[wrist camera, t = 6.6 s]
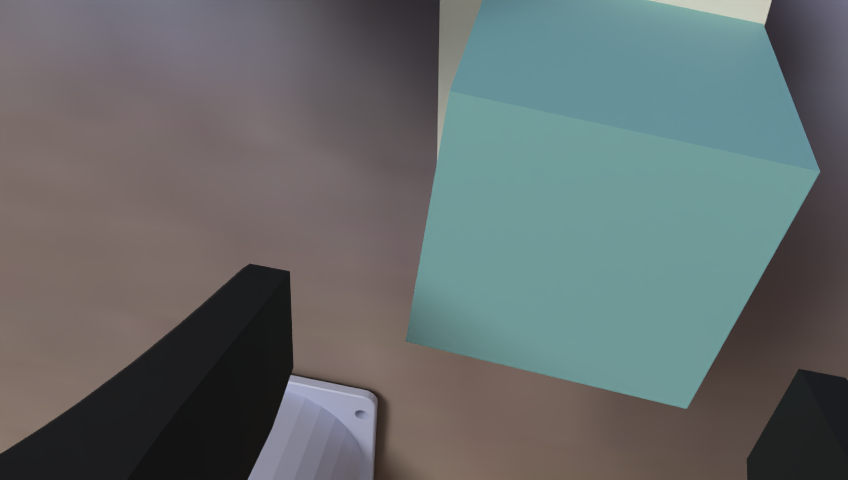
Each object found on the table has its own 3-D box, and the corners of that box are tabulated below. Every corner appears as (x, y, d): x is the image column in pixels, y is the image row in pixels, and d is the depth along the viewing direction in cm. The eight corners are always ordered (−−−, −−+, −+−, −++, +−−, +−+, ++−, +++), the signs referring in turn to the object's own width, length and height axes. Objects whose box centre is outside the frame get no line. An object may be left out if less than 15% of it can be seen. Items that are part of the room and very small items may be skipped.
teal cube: (670, 235, 17) (686, 409, 13) (451, 185, 17) (405, 341, 14) (762, 23, 14) (820, 172, 10) (493, -32, 14) (449, 91, 10)
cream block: (688, 147, 20) (702, 239, 17) (462, 124, 21) (436, 208, 18) (749, -95, 16) (781, -34, 13) (471, -110, 17) (440, -55, 14)
